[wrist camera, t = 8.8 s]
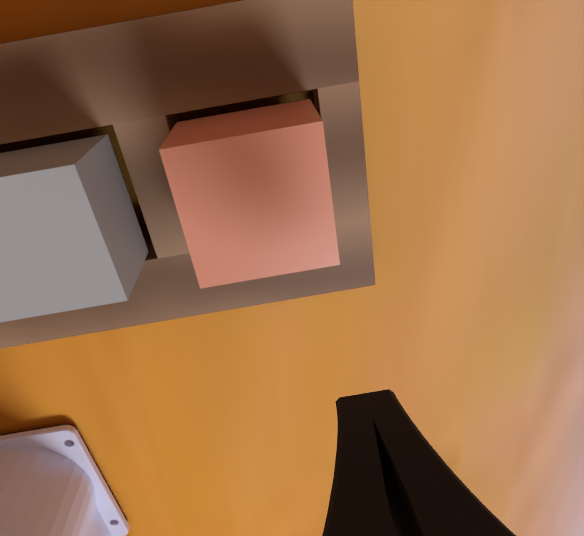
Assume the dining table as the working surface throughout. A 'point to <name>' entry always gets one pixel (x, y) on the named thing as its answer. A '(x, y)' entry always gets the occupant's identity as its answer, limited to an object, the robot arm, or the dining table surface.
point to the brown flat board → (162, 118)
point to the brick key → (253, 192)
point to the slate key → (65, 229)
